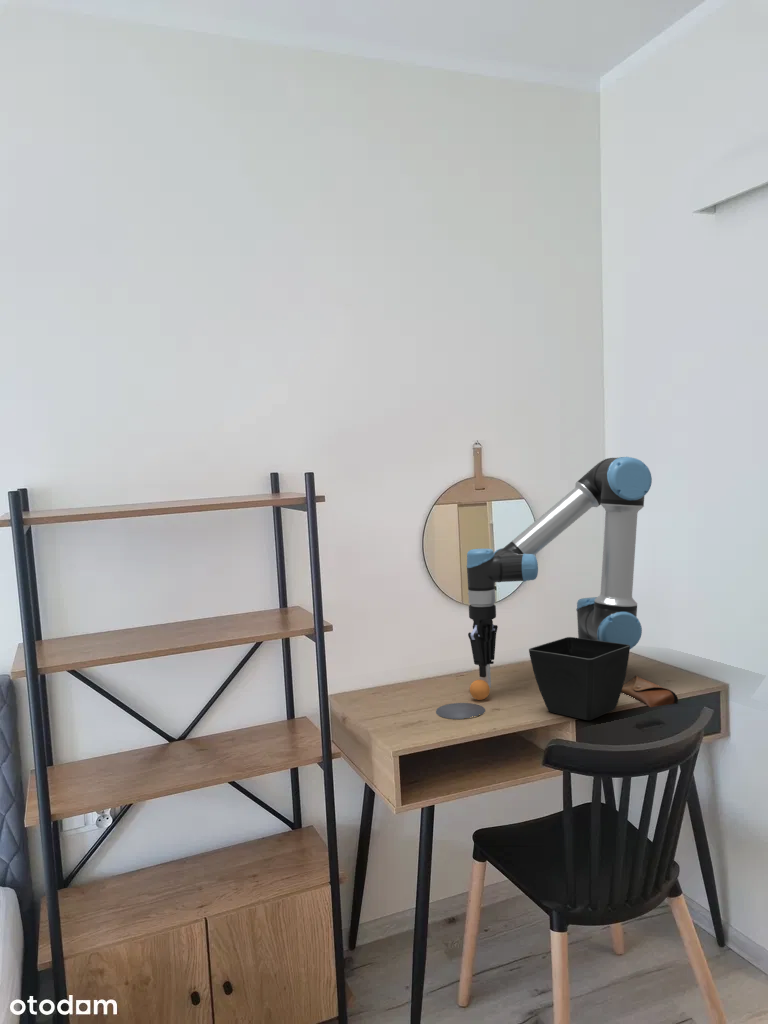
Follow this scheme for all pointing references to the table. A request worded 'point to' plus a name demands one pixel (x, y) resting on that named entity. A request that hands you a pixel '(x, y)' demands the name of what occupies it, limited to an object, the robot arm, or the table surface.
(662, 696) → the sunglasses case
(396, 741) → the table surface
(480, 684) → the ball
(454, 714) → the disc
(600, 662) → the flower pot
